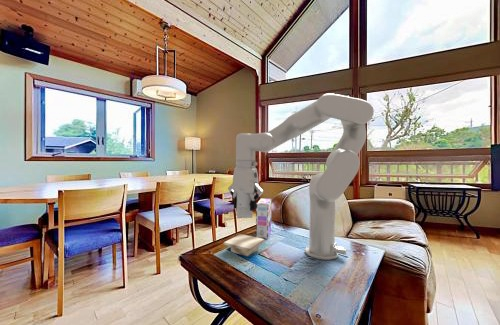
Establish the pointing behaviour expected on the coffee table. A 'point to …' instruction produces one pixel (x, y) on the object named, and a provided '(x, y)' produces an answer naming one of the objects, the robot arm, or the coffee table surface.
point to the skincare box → (243, 204)
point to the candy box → (263, 218)
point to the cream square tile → (244, 244)
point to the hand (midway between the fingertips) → (244, 208)
